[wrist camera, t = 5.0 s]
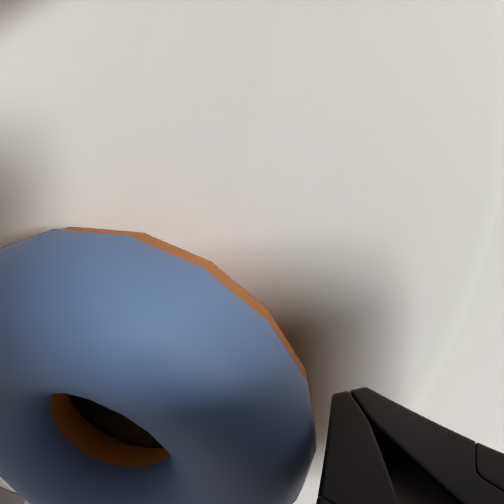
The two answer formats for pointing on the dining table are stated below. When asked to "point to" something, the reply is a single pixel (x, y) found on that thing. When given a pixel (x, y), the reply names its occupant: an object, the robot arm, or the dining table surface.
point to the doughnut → (144, 377)
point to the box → (11, 498)
